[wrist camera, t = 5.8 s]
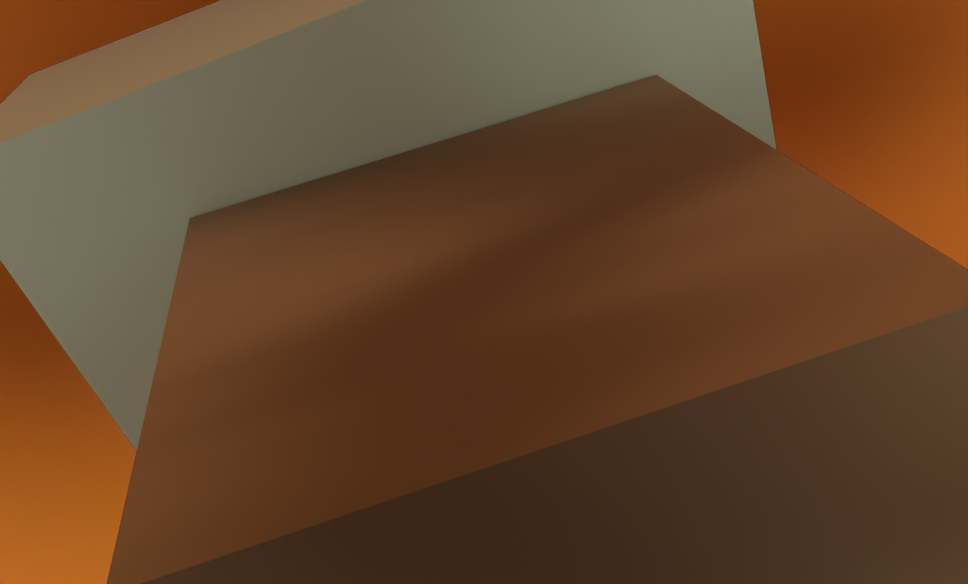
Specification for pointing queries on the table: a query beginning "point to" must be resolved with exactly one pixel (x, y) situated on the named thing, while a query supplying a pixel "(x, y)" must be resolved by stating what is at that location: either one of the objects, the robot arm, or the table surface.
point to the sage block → (296, 129)
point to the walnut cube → (558, 371)
